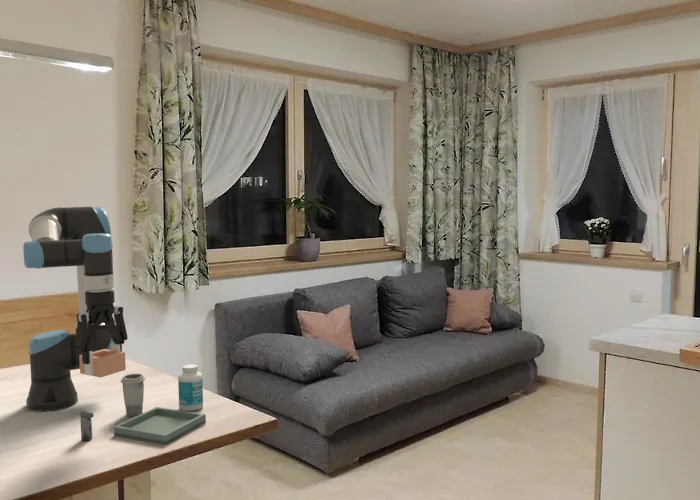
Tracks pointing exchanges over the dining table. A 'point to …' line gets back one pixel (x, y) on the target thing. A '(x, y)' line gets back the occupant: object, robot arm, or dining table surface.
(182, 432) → the tray
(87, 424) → the post
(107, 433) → the dining table surface
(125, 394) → the cup
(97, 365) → the pink open box
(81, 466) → the dining table surface
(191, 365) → the pill bottle
